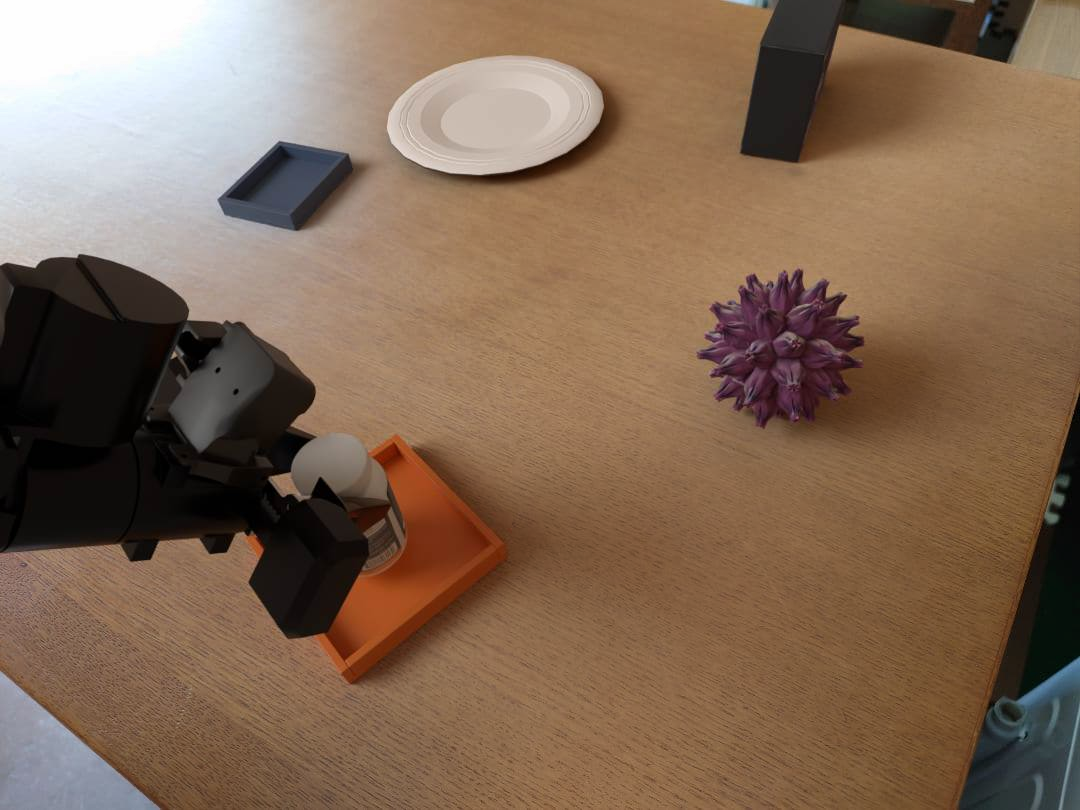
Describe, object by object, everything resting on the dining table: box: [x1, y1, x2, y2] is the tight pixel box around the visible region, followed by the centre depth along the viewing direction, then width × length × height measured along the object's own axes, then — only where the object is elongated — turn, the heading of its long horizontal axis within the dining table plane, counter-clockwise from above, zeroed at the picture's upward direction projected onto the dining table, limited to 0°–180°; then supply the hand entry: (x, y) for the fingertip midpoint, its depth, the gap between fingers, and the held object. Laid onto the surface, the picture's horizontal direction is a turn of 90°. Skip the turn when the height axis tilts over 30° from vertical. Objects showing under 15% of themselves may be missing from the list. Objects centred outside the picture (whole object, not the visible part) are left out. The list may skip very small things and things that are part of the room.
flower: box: [696, 268, 866, 430], centre depth 57 cm, size 12×12×12 cm
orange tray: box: [244, 433, 508, 685], centre depth 55 cm, size 13×13×2 cm
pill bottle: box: [290, 432, 408, 577], centre depth 50 cm, size 6×6×10 cm
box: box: [739, 0, 846, 163], centre depth 81 cm, size 17×7×12 cm, turn 158°
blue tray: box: [217, 140, 354, 232], centre depth 84 cm, size 11×9×2 cm
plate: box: [386, 54, 605, 177], centre depth 89 cm, size 25×25×2 cm
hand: (362, 480), depth 50 cm, fingers closed on pill bottle, 5 cm apart
